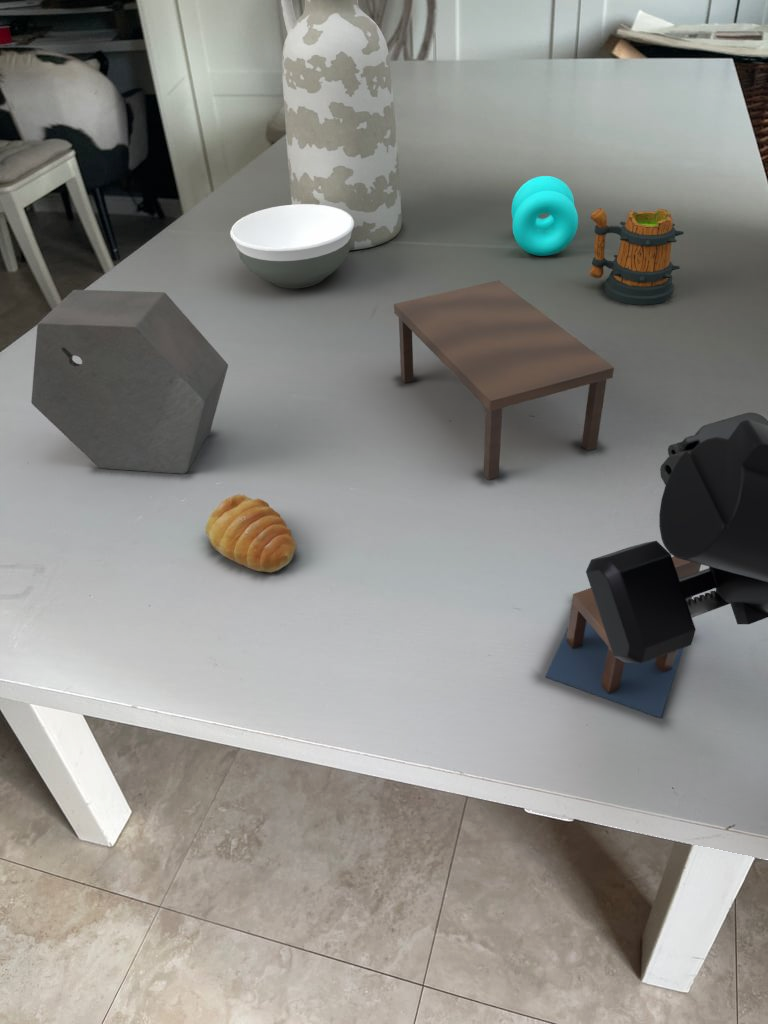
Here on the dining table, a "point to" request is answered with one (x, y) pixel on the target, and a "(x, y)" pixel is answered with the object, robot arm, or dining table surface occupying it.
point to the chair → (588, 611)
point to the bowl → (294, 243)
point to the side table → (502, 354)
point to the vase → (341, 117)
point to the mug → (637, 257)
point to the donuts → (548, 231)
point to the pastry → (251, 534)
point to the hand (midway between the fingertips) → (662, 574)
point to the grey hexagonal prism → (127, 379)
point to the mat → (586, 667)
